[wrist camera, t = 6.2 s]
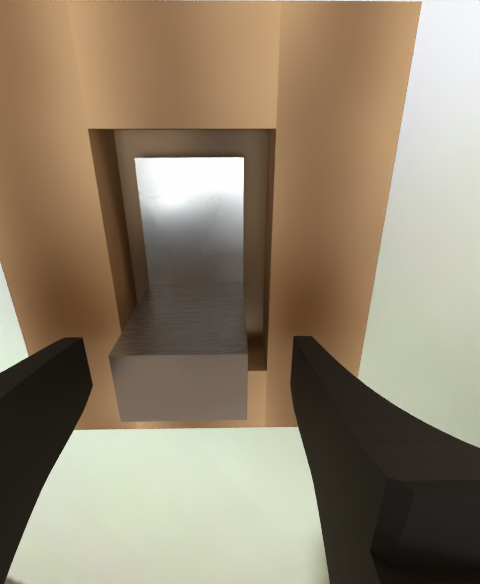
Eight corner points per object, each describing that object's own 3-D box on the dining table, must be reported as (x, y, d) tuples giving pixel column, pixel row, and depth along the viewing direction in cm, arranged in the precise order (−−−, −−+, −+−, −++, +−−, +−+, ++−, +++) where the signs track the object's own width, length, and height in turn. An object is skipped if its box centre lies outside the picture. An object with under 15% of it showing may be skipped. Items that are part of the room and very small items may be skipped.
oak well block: (380, 30, 13) (421, 1, 10) (332, 384, 19) (349, 426, 16) (-10, 29, 12) (-79, -1, 10) (77, 387, 19) (51, 429, 16)
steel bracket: (242, 155, 14) (249, 170, 8) (242, 320, 17) (247, 420, 11) (142, 156, 14) (73, 171, 8) (160, 321, 17) (120, 421, 11)
